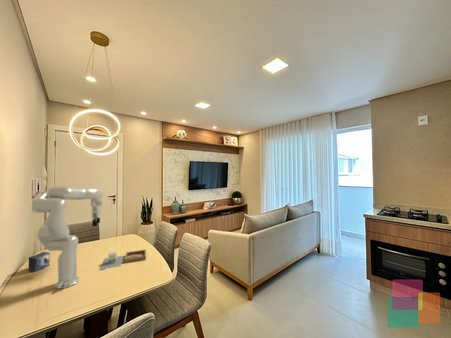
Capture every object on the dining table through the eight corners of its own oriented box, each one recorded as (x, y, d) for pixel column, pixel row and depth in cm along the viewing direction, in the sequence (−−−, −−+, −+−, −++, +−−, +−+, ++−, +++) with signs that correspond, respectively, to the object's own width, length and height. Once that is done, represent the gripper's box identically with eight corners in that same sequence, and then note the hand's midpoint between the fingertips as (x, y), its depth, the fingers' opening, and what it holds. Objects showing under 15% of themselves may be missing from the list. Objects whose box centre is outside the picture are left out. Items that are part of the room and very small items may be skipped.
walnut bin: (145, 260, 162) (145, 256, 162) (124, 263, 156) (124, 260, 156) (146, 252, 177) (145, 249, 177) (126, 255, 171) (126, 252, 171)
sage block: (115, 262, 157) (115, 254, 157) (108, 264, 155) (108, 255, 155) (116, 260, 162) (116, 251, 162) (109, 261, 160) (109, 252, 160)
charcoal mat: (120, 266, 152) (120, 266, 152) (99, 270, 147) (99, 269, 147) (123, 256, 170) (123, 255, 171) (105, 259, 165) (105, 258, 165)
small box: (34, 272, 144) (34, 258, 144) (27, 271, 146) (27, 257, 146) (50, 265, 155) (50, 252, 155) (43, 264, 156) (43, 251, 156)
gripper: (99, 205, 155) (99, 226, 155) (103, 202, 171) (103, 221, 171) (87, 205, 152) (87, 227, 152) (93, 202, 168) (93, 222, 168)
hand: (96, 224), depth 162 cm, fingers open, 9 cm apart
